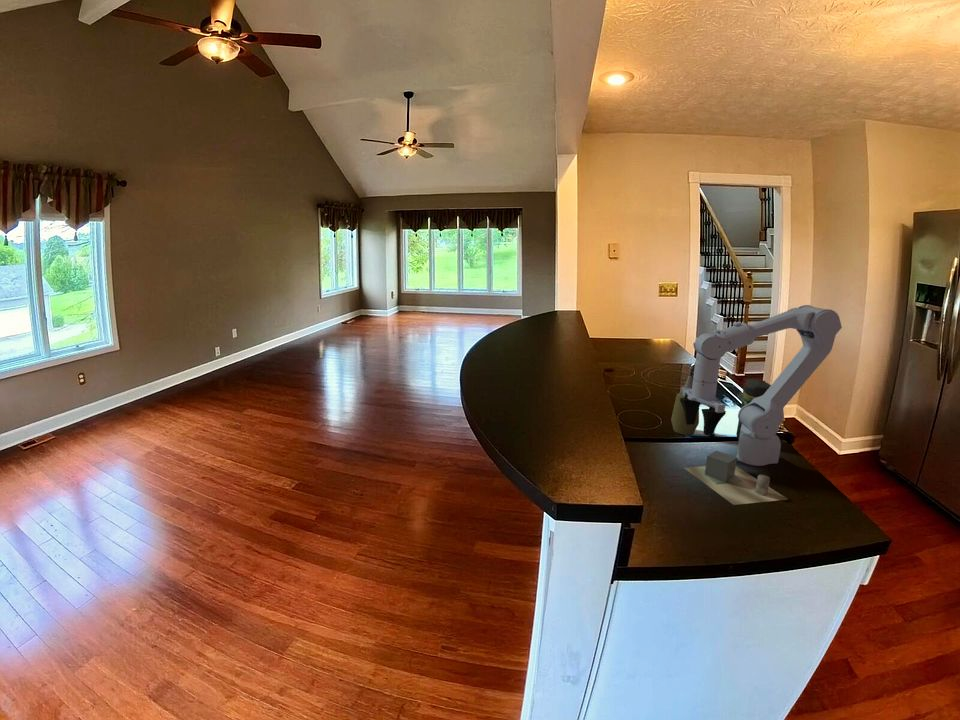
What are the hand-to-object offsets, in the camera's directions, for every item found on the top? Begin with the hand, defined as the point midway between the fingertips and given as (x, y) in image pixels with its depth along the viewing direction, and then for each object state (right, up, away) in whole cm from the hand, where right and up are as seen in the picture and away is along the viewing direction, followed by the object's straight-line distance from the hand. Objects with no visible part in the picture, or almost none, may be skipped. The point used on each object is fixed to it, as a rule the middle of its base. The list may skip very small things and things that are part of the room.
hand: (698, 429), depth 125 cm
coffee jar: (+24, -6, +17) cm, 29 cm away
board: (+3, -12, -12) cm, 17 cm away
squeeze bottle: (+6, -4, +23) cm, 24 cm away
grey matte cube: (+1, -10, -9) cm, 13 cm away
